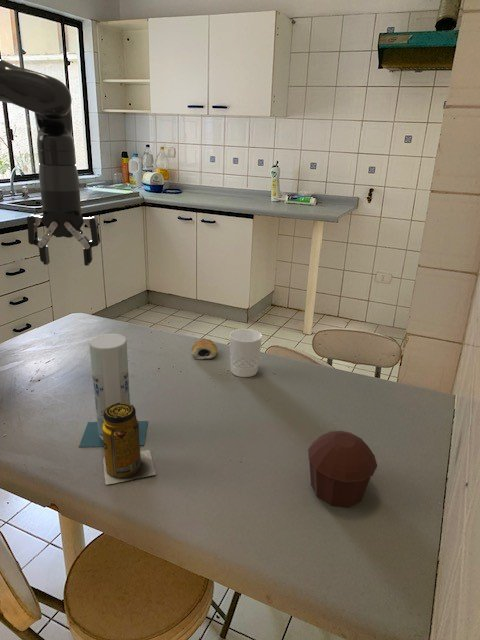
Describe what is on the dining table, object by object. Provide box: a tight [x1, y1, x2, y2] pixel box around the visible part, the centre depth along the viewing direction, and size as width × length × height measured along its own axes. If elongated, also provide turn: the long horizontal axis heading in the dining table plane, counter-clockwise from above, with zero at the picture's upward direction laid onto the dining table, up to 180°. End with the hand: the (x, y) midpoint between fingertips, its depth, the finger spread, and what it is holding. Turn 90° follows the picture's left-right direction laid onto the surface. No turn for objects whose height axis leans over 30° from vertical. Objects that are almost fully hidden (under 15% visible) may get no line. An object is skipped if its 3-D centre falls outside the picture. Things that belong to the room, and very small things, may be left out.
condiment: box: [102, 403, 157, 486], centre depth 80 cm, size 7×8×12 cm
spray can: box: [88, 333, 131, 440], centre depth 87 cm, size 6×6×20 cm
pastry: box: [191, 337, 218, 360], centre depth 125 cm, size 9×7×4 cm
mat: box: [78, 420, 149, 448], centre depth 91 cm, size 12×8×1 cm, turn 95°
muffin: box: [307, 430, 378, 508], centre depth 77 cm, size 12×11×10 cm
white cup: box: [229, 328, 263, 378], centre depth 115 cm, size 8×8×10 cm
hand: (67, 264), depth 101 cm, fingers open, 8 cm apart
